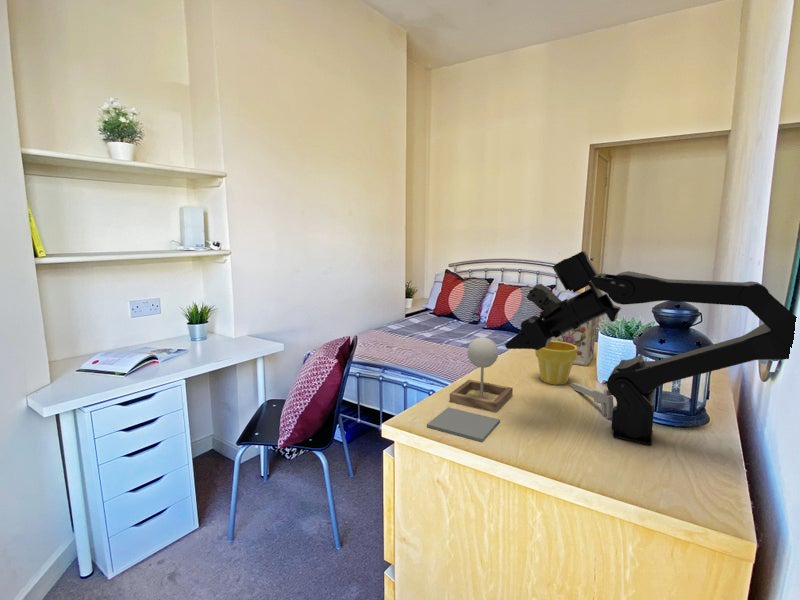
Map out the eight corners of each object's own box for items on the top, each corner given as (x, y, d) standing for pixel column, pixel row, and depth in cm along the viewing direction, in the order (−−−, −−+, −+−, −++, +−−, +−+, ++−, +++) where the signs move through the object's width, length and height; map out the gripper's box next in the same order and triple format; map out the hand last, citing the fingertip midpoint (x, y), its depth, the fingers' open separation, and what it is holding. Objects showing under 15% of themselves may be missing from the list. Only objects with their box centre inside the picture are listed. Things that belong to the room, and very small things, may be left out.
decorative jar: (594, 357, 134) (598, 301, 131) (588, 367, 124) (592, 306, 121) (555, 351, 140) (558, 298, 137) (546, 360, 130) (549, 303, 128)
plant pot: (581, 380, 113) (583, 344, 112) (565, 390, 106) (567, 352, 104) (544, 371, 120) (546, 338, 119) (527, 380, 113) (528, 345, 111)
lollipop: (497, 394, 103) (499, 335, 101) (495, 406, 96) (497, 342, 94) (468, 391, 105) (469, 333, 103) (464, 402, 98) (465, 340, 96)
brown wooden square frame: (512, 395, 103) (512, 387, 102) (496, 412, 93) (496, 403, 93) (468, 386, 109) (468, 379, 108) (449, 401, 99) (449, 393, 99)
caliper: (612, 421, 89) (615, 392, 88) (607, 421, 89) (610, 392, 88) (572, 386, 109) (574, 362, 108) (568, 386, 109) (570, 362, 108)
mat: (499, 422, 88) (500, 419, 88) (482, 442, 80) (482, 439, 80) (448, 409, 95) (448, 407, 94) (426, 427, 86) (426, 424, 86)
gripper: (569, 272, 94) (510, 304, 103) (544, 280, 79) (478, 316, 88) (595, 316, 92) (534, 345, 101) (575, 333, 77) (504, 365, 86)
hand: (513, 342), depth 94 cm, fingers open, 9 cm apart
